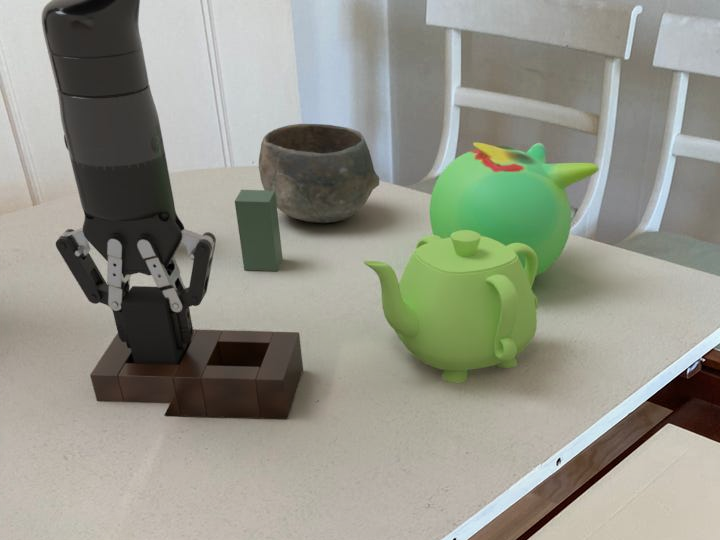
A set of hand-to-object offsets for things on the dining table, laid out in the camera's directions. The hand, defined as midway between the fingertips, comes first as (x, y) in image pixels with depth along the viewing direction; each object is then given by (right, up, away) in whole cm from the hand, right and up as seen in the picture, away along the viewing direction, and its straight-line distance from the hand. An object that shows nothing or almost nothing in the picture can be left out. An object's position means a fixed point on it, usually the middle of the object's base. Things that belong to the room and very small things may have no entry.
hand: (158, 344), depth 91 cm
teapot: (+28, +1, +9) cm, 29 cm away
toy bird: (+33, +16, +26) cm, 45 cm away
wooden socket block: (+4, -4, +3) cm, 6 cm away
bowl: (+9, +29, +40) cm, 50 cm away
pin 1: (0, -2, +2) cm, 3 cm away
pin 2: (+4, +18, +27) cm, 33 cm away
